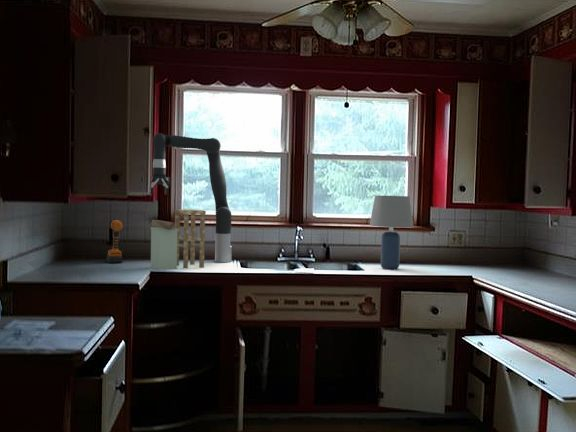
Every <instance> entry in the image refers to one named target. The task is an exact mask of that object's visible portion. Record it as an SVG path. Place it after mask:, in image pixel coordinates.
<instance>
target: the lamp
mask: <svg viewBox="0 0 576 432" xmlns="http://www.w3.org/2000/svg"><path fill="white" fill-rule="evenodd" d="M373 199H374V200H373V204H372V205H373V206H372V208H371V209H372V211H371V215H370V222H369V226H371V227H382V228H388V231H383V233H382V235H381V241H380V242H381V246H380V267H381V268H382V269H383V270H387V269H391V271H394V269H396V270H398V269H399V268H400V257H401V256H400V255H401V235H400V233H398V232H397V231H394V228H414V222H413V220H414V219H413V214H412V213H413V211H412V204H411V198H410V196H409V195H408V196H407V195H405V196H404V195H403V196H402V195H374V198H373Z"/></svg>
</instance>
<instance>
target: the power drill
mask: <svg viewBox="0 0 576 432" xmlns="http://www.w3.org/2000/svg"><path fill="white" fill-rule="evenodd" d="M109 228H110V229H112V249H109V250H107V255H106V261H107V262H108V263H110V264H111V263H113V264H116V263H117V264H118V263H119V264H121V263H123V256H122V254H123V252H122V251H121V250H119V241H120V240H119V234H120V232H121V230H122V229H123V223H122V221H121V220H119V219H116V218H113V219H110V221H109Z"/></svg>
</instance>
